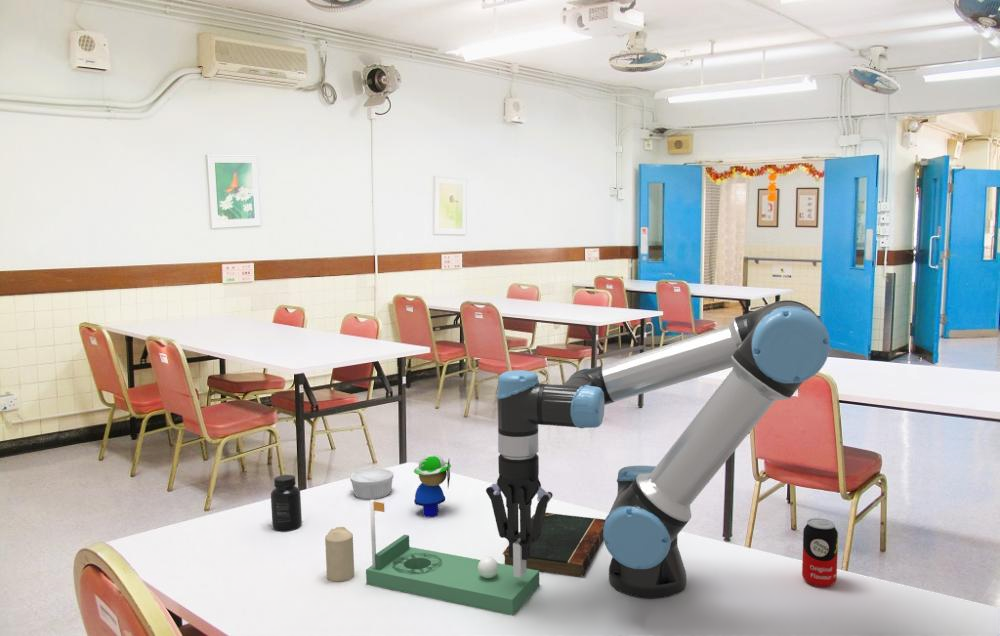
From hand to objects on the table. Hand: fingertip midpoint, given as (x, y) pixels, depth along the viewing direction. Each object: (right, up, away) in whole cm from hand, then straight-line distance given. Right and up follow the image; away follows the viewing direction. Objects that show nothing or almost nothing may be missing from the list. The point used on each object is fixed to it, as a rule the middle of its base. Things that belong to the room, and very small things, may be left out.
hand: (519, 574), depth 152 cm
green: (-13, -4, +7) cm, 15 cm away
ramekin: (-38, +2, +60) cm, 71 cm away
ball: (-6, 0, +3) cm, 7 cm away
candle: (-36, -4, +12) cm, 38 cm away
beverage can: (+59, -3, +5) cm, 59 cm away
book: (+9, -3, +23) cm, 25 cm away
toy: (-20, 0, +46) cm, 50 cm away
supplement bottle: (-54, -1, +39) cm, 67 cm away
